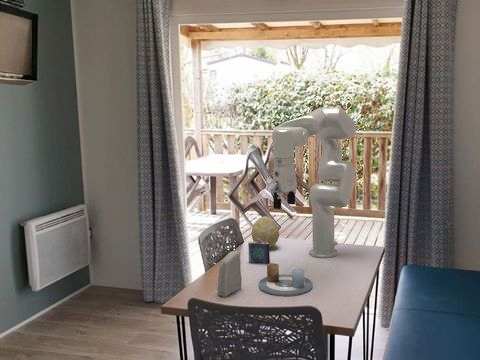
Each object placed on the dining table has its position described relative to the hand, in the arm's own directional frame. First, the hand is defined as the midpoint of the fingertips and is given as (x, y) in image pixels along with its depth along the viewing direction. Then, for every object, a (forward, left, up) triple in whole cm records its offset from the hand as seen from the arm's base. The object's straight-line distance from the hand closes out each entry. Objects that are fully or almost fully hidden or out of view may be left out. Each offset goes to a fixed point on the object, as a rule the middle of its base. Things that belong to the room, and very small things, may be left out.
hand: (284, 206), depth 201 cm
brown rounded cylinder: (+8, -1, -27) cm, 28 cm away
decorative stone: (+24, -9, -29) cm, 38 cm away
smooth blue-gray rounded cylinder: (+8, +10, -27) cm, 30 cm away
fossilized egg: (-28, -29, -28) cm, 49 cm away
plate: (+8, +5, -28) cm, 30 cm away
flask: (-9, -19, -29) cm, 35 cm away
